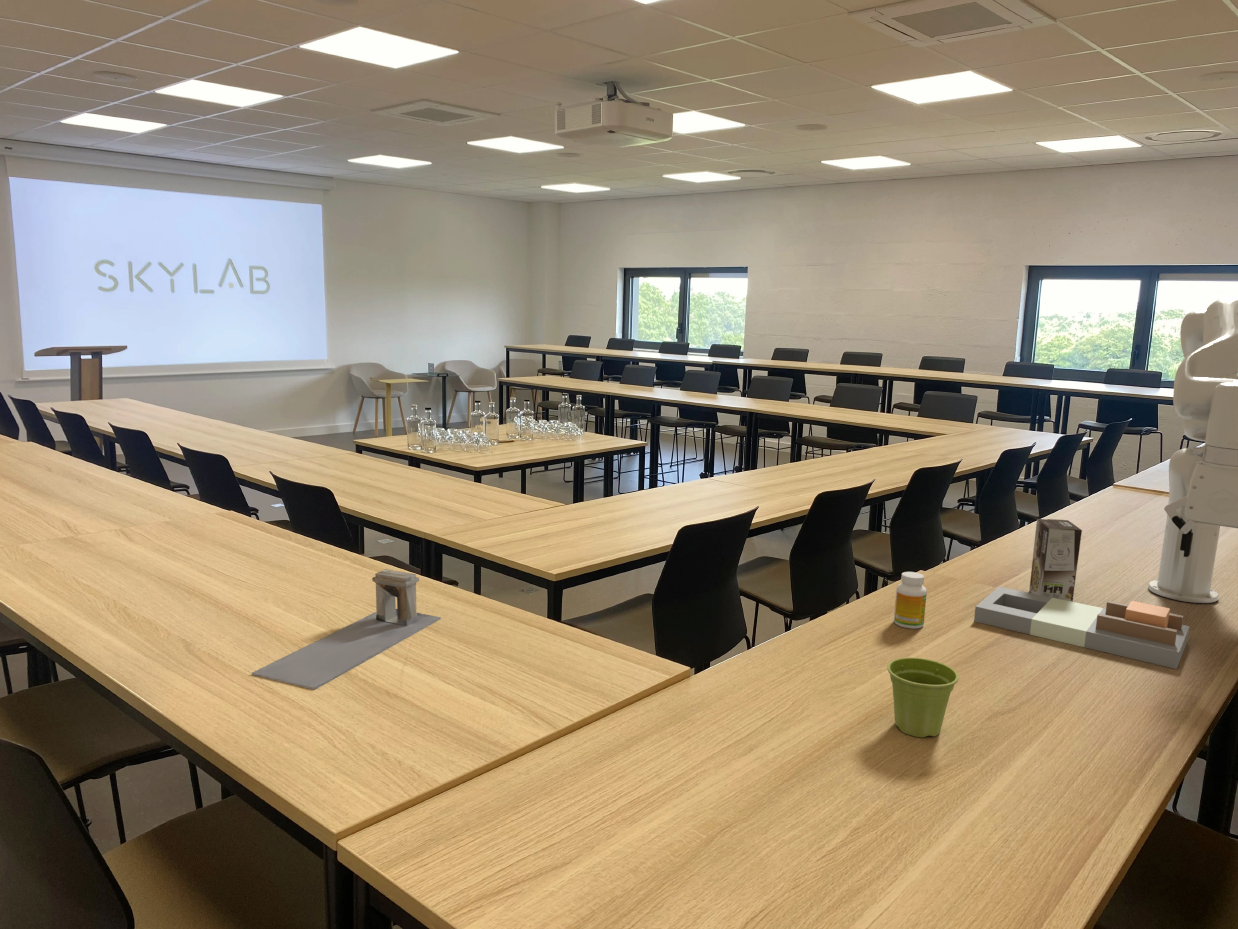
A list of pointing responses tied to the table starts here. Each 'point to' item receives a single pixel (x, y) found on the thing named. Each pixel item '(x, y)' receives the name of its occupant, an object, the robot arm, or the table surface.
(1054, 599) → the compartment tray
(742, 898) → the table surface
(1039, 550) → the coffee box
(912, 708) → the plant pot
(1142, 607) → the block
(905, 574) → the supplement bottle
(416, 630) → the monument
